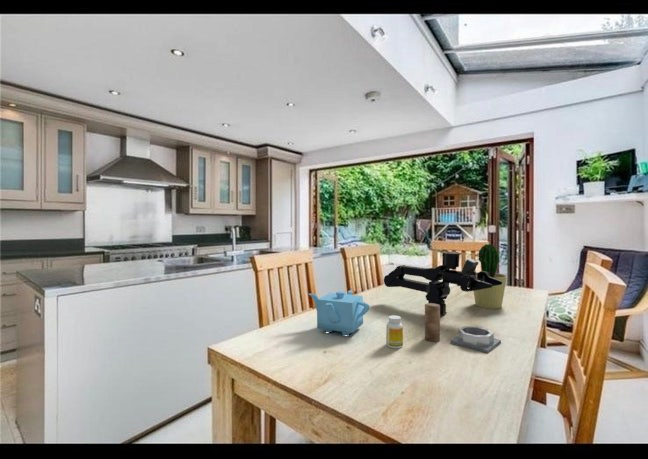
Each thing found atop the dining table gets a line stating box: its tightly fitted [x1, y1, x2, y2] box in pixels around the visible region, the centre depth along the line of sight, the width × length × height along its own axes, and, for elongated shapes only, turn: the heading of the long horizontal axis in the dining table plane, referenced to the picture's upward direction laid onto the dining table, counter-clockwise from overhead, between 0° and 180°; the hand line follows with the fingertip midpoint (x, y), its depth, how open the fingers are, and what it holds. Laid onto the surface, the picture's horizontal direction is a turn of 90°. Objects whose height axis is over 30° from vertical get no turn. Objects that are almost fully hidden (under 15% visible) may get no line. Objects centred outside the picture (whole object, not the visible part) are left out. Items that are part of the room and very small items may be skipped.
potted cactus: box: [473, 243, 508, 310], centre depth 160 cm, size 15×15×30 cm
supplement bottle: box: [385, 315, 404, 349], centre depth 111 cm, size 5×5×10 cm
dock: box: [449, 325, 502, 354], centre depth 113 cm, size 12×12×4 cm
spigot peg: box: [424, 303, 441, 343], centre depth 116 cm, size 5×5×12 cm
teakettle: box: [308, 289, 371, 335], centre depth 127 cm, size 19×19×15 cm
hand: (497, 284), depth 128 cm, fingers open, 9 cm apart
